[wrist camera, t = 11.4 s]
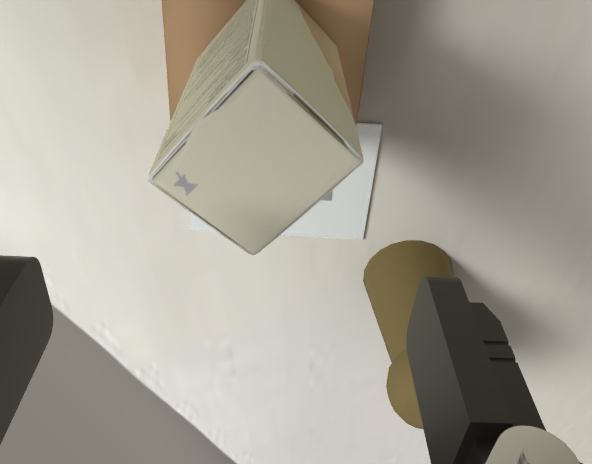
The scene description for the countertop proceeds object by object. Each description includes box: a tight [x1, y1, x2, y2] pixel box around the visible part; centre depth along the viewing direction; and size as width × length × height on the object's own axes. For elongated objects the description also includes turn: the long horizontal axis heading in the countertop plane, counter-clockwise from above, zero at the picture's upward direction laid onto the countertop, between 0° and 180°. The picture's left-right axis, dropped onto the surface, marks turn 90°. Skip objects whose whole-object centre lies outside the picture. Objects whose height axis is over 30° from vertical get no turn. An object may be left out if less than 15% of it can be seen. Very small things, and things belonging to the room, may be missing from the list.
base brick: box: [162, 0, 374, 125], centre depth 27 cm, size 9×9×4 cm
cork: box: [363, 241, 454, 429], centre depth 33 cm, size 6×6×11 cm
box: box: [148, 0, 364, 255], centre depth 20 cm, size 5×4×11 cm
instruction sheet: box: [190, 123, 382, 240], centre depth 33 cm, size 11×8×1 cm
